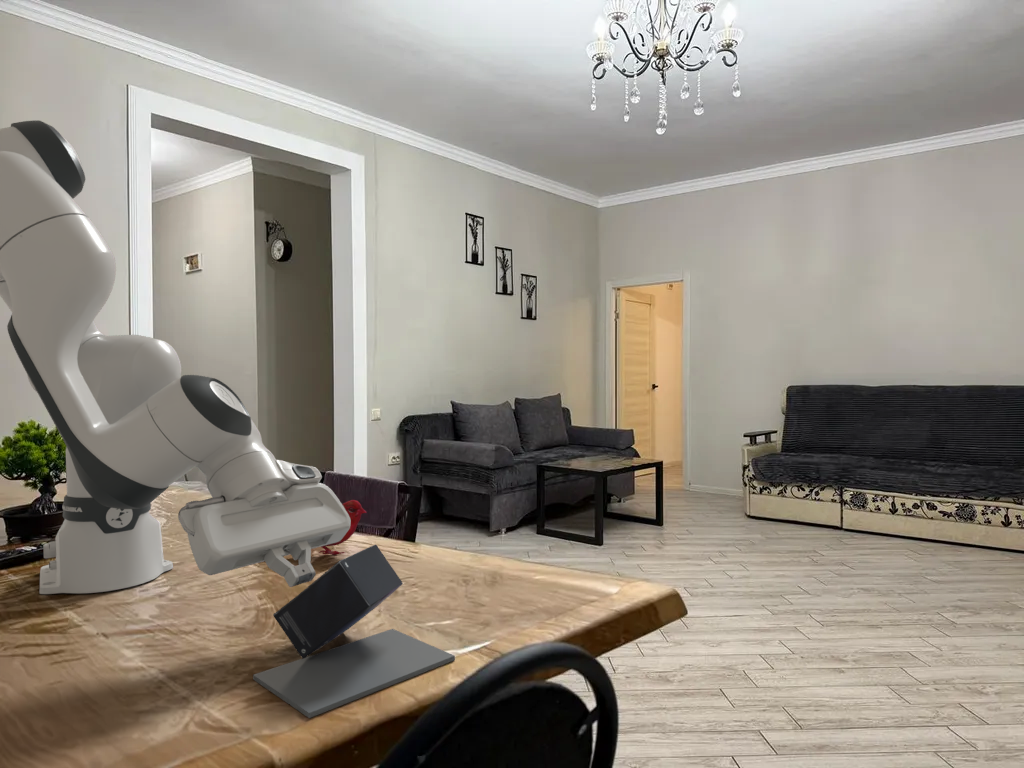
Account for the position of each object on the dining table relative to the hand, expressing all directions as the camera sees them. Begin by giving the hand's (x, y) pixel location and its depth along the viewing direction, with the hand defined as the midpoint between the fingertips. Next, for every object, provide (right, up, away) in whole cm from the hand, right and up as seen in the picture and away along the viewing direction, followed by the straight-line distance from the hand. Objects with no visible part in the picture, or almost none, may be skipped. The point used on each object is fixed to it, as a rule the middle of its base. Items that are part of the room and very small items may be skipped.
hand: (303, 581), depth 82 cm
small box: (0, -5, 0) cm, 6 cm away
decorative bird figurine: (-10, -7, +42) cm, 44 cm away
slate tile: (+8, -8, -6) cm, 13 cm away
